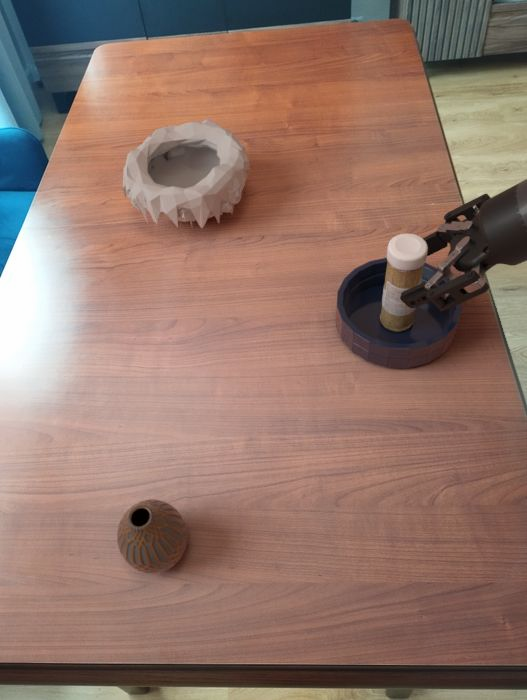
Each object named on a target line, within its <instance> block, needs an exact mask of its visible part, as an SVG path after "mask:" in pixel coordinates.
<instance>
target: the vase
mask: <svg viewBox="0 0 527 700" xmlns="http://www.w3.org/2000/svg"><path fill="white" fill-rule="evenodd" d="M116 533H117V534H116V540H117V541H116V542H117V546H118V550H119V553H120V554H121V556H122V558H123V560H124V561H125V562H126V563H127V564H128V565H129V566H130V567H132V568H133V569H134V570H137V571H138V572H141V573H145V574H160V573H164V572H166V571H169V570H170V569H171V568H173V567H175V566H176V565H177V563H178V562H179V561H180V560H181V558H182V557H183V555H184V553H185V551H186V549H187V544H188V537H189V536H188V534H189V533H188V529H187V524H186V521H185V519H184V518H183V516H182V514H181V513H180V511H179V510H178V508H175V506H173V505H172V504H170V503H168V502H167V501H164V500H160V499H154V498H153V499H144V500H141V501H138V502H137V503H134V504H133V505H131V506H130V507H129V508H128V509H127V510H126V511H125V512H124V513H123V515H122V517H121V519H120V521H119V523H118V527H117V531H116Z"/></svg>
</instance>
